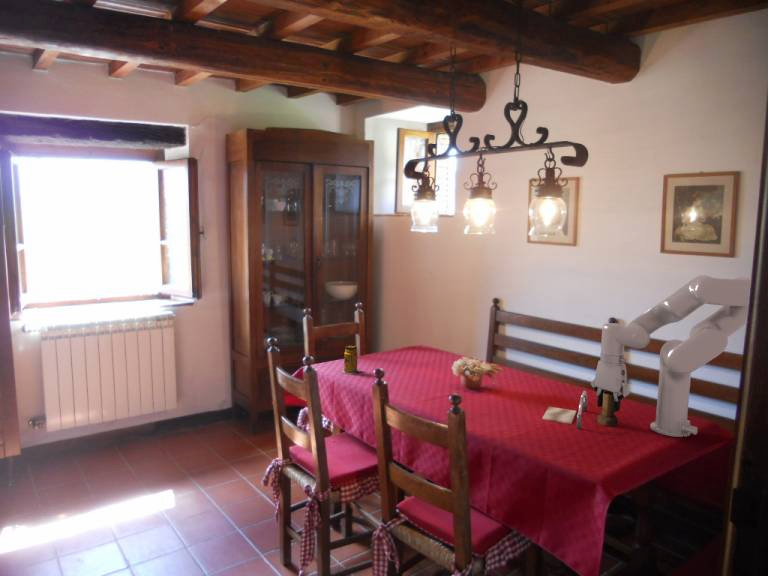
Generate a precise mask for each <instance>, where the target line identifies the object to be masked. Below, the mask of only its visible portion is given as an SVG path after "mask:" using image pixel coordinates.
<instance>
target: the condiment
mask: <svg viewBox="0 0 768 576" xmlns="http://www.w3.org/2000/svg"><path fill="white" fill-rule="evenodd" d="M357 351H358V350H357V346H356V345H346V346H345V351H344V354H343V356H344V357H343V358H344V363H343V364H344V365H343V367H344V368H343V370H342V371H341V370H340V372H341V373H344V374H348V375H349V376H350V375H354V374H359V373H363V372H364V370H360V369H358V352H357ZM359 370H360V372H359ZM357 372H358V373H357Z"/></svg>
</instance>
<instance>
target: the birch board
mask: <svg viewBox="0 0 768 576" xmlns="http://www.w3.org/2000/svg"><path fill="white" fill-rule="evenodd" d="M547 407H548V408H547V409H546V411H545V412H544V415H543V416H542V420H545V421H551V422H558V423H563V424H569V425H572V423H573V422H574V419H575V416H576V414H577V410H574V409H573V410H572V409H568V408H567V409H566V408H560V407H556V406H555V407H554V406H547Z"/></svg>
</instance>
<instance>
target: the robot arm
mask: <svg viewBox="0 0 768 576" xmlns="http://www.w3.org/2000/svg"><path fill="white" fill-rule="evenodd" d="M751 279H752V278H749V277H746V276H739V277H735V278H733V279H731V278H730V279H729V278H718V277H711V276H709V275H705V274H704V275H703V274H702V275H698V276H696V277H694V278H693V279H692V280H690V281H689V282H687V283H685V284H684V285H683V286H682V287H680V288H679V289H678V290H676V291H675V292H673V293H672V294H671V295H669V296H668V297H666V298H665V299H664V300H662V301H660V302H658V303H657V304H655V305H654V306H652V307H651V308H648V309H647V310H646V311H644V312H643V313H641V314H640V315H638V316H637V317H635V318H634V319H633V320H632V321H630V322H629V323H628V324H627V325H626V326H625V325H623V324H621V323H616V322H615V323H614V322H607V323H604V324H603V325H602V330H601V344H600V345H601V346H600V357H599V358H600V359H599V360H598V362H597V366H596V368H595V378H594V379H593V380H592V381H591V382H590V385H591V386H592V388H593V390H594V392H595V393H596V394H595V395H596V396H597V405H596V406H597V408H601V407H603V392H606V391H610V392H613V394H614V399H615V400H614V401H613V408H612V411H613V412H614V413H616V412H619V411H620V410H621V403H622V402H621V401H622V400H623V399H625V398H626V397H628V396H630V394H631V392H630V391H629V389H628V387H627V386H628V385H627V384H628V375H627V367H626V364H625V363H626V362H627V358H625V347H629V348H632V349H633V348H634V349H644V348H646V347H647V346H648V345H649V344H650V341H651V335H652V334H654V332H656V331H658V330H659V329H661V328H662V327H664V326H666V325H669V324H674V323H679V322H681V321H682V320H684V319H685V318H687V317H688V316H690V315H691V314H692V313H693V312H695V311H697V310H698V309H699V308H700V307H701V308H702V307H703V306H704V305H705V304H706V305H714V306H721V307H720V308H719V309H718V310H717V311H715V312H714V313H712V314H711V315H709V316H708V317H706V318H705V319H703V320H701V321H700V322H698V323H696V324H694V326H692V328H691V329H690V331H689V336H688V337H687V339H685V340H681V339H670V340H668V341H666V342H665V343H664V344H663V345H662V347H660V348H661V349H660V352H659V374H658V387H657V389H658V390H657V401H656V402H657V403H656V413H655V421H652V422H651V423H650V427H649V428H650V429H651V430H652V431H653V432H656V433H658V434H660V435H662V436H663V435H664V436H667V437H674V438H675V437H676V438H685V437H690V436H691V435H690V434H692V435H697V434H698V427H697V426H693V425H691V421H690V420H688V414H689V412H688V411H689V402H690V400H689V399H690V388H691V377H692V376H691V375H692V373H693V372H695V371H697V370H698V369H699V368H702V367H703V366H704V365H706V364H708V363H709V362H711V361H712V360H713V359H715V358H717V357H718V356H720V355H721V354H722V353H723V352H724V351H725V350H726V348H727V347H728V343H729V338H728V337H730V336H732V335H734V333H736V332H738V330H740V329H741V328H743V327H744V326H745V325H746V324H747V323H746V321H747V311H748V301H749V291H750V281H751ZM683 436H684V437H683Z"/></svg>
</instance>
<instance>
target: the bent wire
mask: <svg viewBox="0 0 768 576" xmlns="http://www.w3.org/2000/svg"><path fill="white" fill-rule="evenodd" d="M587 411H588V396H587V391H586V390H583V392H582V394H581V396H580V401H579V405H578V412H577V413H576V414H577V415H576V429H577V430H581V429H582V417H583V416H582V412H584V413H587Z"/></svg>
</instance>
